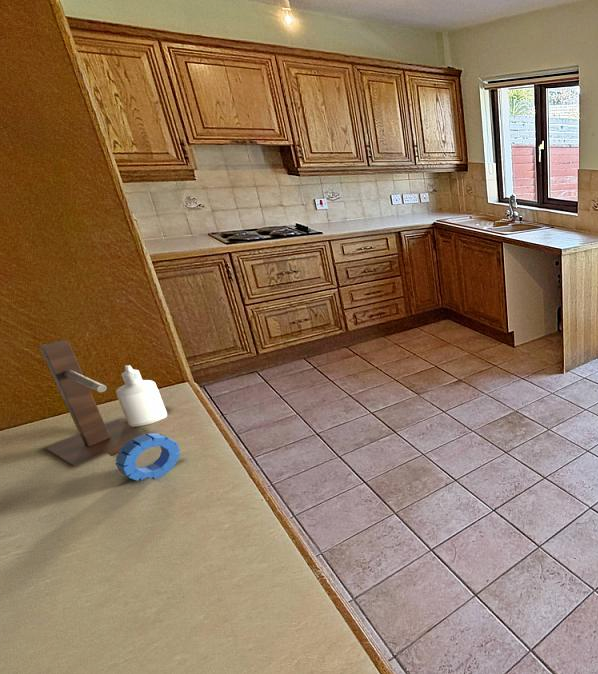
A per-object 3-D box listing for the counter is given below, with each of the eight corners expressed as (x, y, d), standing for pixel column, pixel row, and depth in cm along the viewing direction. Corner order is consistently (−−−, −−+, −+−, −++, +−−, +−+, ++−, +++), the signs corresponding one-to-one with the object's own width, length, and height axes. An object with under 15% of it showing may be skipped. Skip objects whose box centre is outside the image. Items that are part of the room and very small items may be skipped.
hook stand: (47, 453, 82) (-6, 348, 74) (120, 424, 91) (79, 327, 82) (95, 483, 76) (43, 372, 68) (169, 449, 85) (130, 347, 77)
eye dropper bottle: (161, 424, 91) (140, 369, 86) (124, 428, 89) (101, 373, 85) (171, 412, 95) (152, 359, 90) (136, 416, 93) (114, 362, 88)
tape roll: (145, 483, 79) (103, 465, 73) (182, 445, 82) (145, 425, 77) (153, 487, 78) (111, 470, 72) (190, 449, 81) (153, 429, 76)
